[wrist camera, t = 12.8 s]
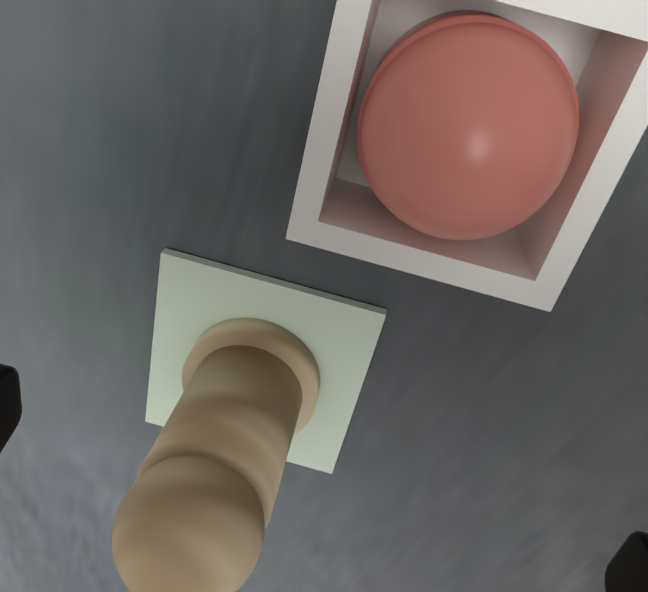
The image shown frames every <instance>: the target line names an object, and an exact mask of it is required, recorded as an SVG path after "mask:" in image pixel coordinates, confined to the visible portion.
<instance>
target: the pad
mask: <svg viewBox="0 0 648 592" xmlns="http://www.w3.org/2000/svg"><path fill="white" fill-rule="evenodd" d="M386 313H387V309H384V308H380V307H377V306H373V305H370V304H366V303H362V302H359V301H355V300H352V299H348V298H344V297H341V296H337V295H333V294H330V293H326V292H323V291H319V290H315V289H312V288H308V287H305V286H301V285H297V284H294V283H290V282H287V281H283V280H279V279H276V278H272V277H269V276H265V275H261V274H258V273H254V272H251V271H247V270H243V269H240V268H236V267H233V266H229V265H225V264H222V263H218V262H215V261H211V260H207V259H204V258H200V257H196V256H193V255H189V254H186V253H182V252H178V251H175V250H171V249H168V248H165V249H164V250H163V251H162V252H161V257H160V267H159V278H158V289H157V300H156V311H155V322H154V332H153V343H152V354H151V365H150V376H149V387H148V397H147V408H146V419H145V422H149V423H152V424H156V425H160V426H163V427H164V425H165V424H166V422H167V420H168V418H169V417H170V415H171V413H172V411H173V410H174V408H175V406H176V404H177V403H178V401H179V399H180V397H181V395H182V394H183V392H184V391H183V388H182V380H181V379H182V369H183V365H184V363H185V360H186V358H187V357H188V355H189V353H190V352H191V350H192V348H193V347H194V345H195V344H196V342H197V340H198V339H199V337H200V336H201V335H202V334H203V333H204V332H205V331H206V330H208V329H209V328H210V327H212V326H214V325H215V324H217V323H220V322H222V321H225V320H229V319H235V318H255V319H261V320H265V321H269V322H272V323H275V324H277V325H279V326H281V327H283V328H285V329H287V330H288V331H290V332H292V333H293V334H294V335H296V336H297V337H298V338H299V339H300V340H301V341H302V342H303V343H304V344H305V345H306V346H307V347H308V348H309V350H310V351H311V353H312V354H313V356H314V358H315V360H316V362H317V364H318V368H319V371H320V389H319V393H318V398H317V402H316V406H315V410H314V412H313V415H312V417H311V419H310V420H309V422H308V423H307V424H306V426H305V427H304V428H303V429H301V430H300V431H299V432H298V433H296V434H294V435H293V438H292V441H291V445H290V449H289V452H288V456H287V459H286V461H287V462H291V463H295V464H298V465H302V466H305V467H309V468H312V469H316V470H319V471H323V472H327V473H330V474H332V472H333V469H334V466H335V463H336V460H337V457H338V454H339V452H340V449H341V446H342V443H343V440H344V437H345V434H346V431H347V428H348V425H349V422H350V419H351V417H352V414H353V411H354V408H355V405H356V402H357V399H358V396H359V393H360V390H361V387H362V384H363V382H364V379H365V376H366V373H367V370H368V367H369V364H370V361H371V358H372V355H373V352H374V349H375V347H376V344H377V341H378V338H379V335H380V332H381V329H382V326H383V323H384V320H385V317H386Z"/></svg>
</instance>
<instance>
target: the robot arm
mask: <svg viewBox="0 0 648 592" xmlns="http://www.w3.org/2000/svg"><path fill="white" fill-rule="evenodd" d="M21 414H22V403H21V392H20V382H19V374H18V372H17V370H16V369H15V368H13V367H11V366H8V365H4V364H0V453H1V451H2V449H3V448H4V446H5V445H6V443H7V441H8V440H9V438H10V437H11V435H12V433H13V432H14V430H15V429H16V427H17V425H18V423H19V421H20V418H21ZM605 591H606V592H648V533H645V532H641V531H636V532H634V533H632V534H631V535H630V536H629V537H628V538H627V540H626V541H625V542H624V544H623V545H622V546H621V548H620V549H619V550H618V552H617V553H616V554H615V556H614V557H613V558H612V560H611V561H610V562H609V564H608V566H607V569H606V572H605Z"/></svg>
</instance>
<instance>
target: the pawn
mask: <svg viewBox="0 0 648 592" xmlns="http://www.w3.org/2000/svg"><path fill="white" fill-rule="evenodd" d="M181 380H182V388H183V391H184V392H183V394H182V395H181V397H180V399H179V401H178V403H177V404H176V406H175V408H174V410H173V411H172V413H171V415H170V417H169V418H168V420H167V422H166V424H165V425H164V427H163V429H162V431H161V432H160V434H159V436H158V438H157V439H156V441H155V443H154V445H153V446H152V448H151V450H150V452H149V453H148V455H147V457H146V459H145V460H144V462H143V464H142V466H141V467H140V469H139V471H138V474H137V477H136V481H135V482H134V483H133V484H132V485H131V487H130V488H129V490H128V491H127V493H126V494H125V496H124V497H123V499H122V501H121V503H120V506H119V508H118V510H117V513H116V517H115V520H114V525H113V532H112V551H113V557H114V561H115V565H116V568H117V570H118V573H119V575H120V577H121V579H122V580H123V582H124V584H125V585H126V587H127V588H128V589H129V591H130V592H236V591H237V590H238V589H239V588H240V587H241V586H242V585H243V584H244V583H245V581H246V580H247V579H248V577H249V576H250V574H251V573H252V571H253V569H254V567H255V566H256V564H257V561H258V558H259V556H260V553H261V550H262V545H263V540H264V530H265V529H266V527H267V526H268V523H269V521H270V517H271V514H272V510H273V507H274V503H275V499H276V496H277V492H278V488H279V485H280V481H281V478H282V474H283V470H284V467H285V463H286V459H287V456H288V452H289V449H290V445H291V441H292V438H293V435H294V434H296V433H298V432H299V431H300V430H301V429H303V428H304V427H305V426H306V424H307V423H308V422H309V420H310V419H311V417H312V415H313V412H314V410H315V406H316V402H317V398H318V393H319V389H320V371H319V368H318V364H317V362H316V360H315V358H314V356H313V354H312V353H311V351H310V350H309V348H308V347H307V346H306V345H305V344H304V343H303V342H302V341H301V340H300V339H299V338H298V337H297V336H296V335H294V334H293V333H292V332H290V331H288V330H287V329H285V328H283V327H281V326H279V325H277V324H275V323H272V322H269V321H265V320H261V319H255V318H235V319H229V320H225V321H222V322H220V323H217V324H215V325H214V326H212V327H210V328H209V329H208V330H206V331H205V332H204V333H203V334H202V335H201V336H200V337H199V339H198V340H197V342H196V344H195V345H194V347H193V348H192V350H191V352H190V353H189V355H188V357H187V358H186V360H185V363H184V365H183V369H182V379H181Z"/></svg>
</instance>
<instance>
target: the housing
mask: <svg viewBox="0 0 648 592" xmlns="http://www.w3.org/2000/svg"><path fill="white" fill-rule="evenodd" d="M459 10H478V11H483V12H488V13H492V14H495V15H498V16H501V17H503V18H505V19H507V20H509V21H512V22H514V23H516V24H518V25H520V26H522V27H524V28H526V29H528V30H530V31H531V32H533V33H535V34H536V35H537V36H539V37H540V38H541V39H543V40H544V41H545V42H547V43H548V45H549V46H550V47H551V48H552V49H553V50H554V51H555V52H556V53H557V54H558V56H559V57H560V58H561V60H562V61H563V63H564V64H565V66H566V68H567V70H568V72H569V74H570V76H571V78H572V80H573V83H574V87H575V90H576V93H577V99H578V105H579V129H578V137H577V141H576V145H575V149H574V153H573V156H572V159H571V162H570V165H569V167H568V170H567V172H566V174H565V176H564V178H563V179H562V181H561V183H560V185H559V187H558V188H557V189H556V191H555V192H554V194H553V195H552V196H551V198H550V199H549V200H548V201H547V202H546V203H545V204H544V205H543V206H542V207H541V208H540V209H539V210H538V211H537V212H536V213H535V214H533V215H532V216H531V217H530V218H528V219H527V220H525V221H524V222H522V223H521V224H519V225H517V226H515V227H514V228H512V229H510V230H508V231H505V232H503V233H500V234H498V235H494V236H491V237H487V238H483V239H476V240H462V241H457V240H446V239H441V238H437V237H433V236H430V235H427V234H424V233H422V232H420V231H417V230H415V229H413V228H411V227H410V226H408V225H407V224H405V223H404V222H402V221H401V220H399V219H398V218H397V217H396V216H395V215H394V214H392V213H391V212H390V211H389V210H388V209H387V208H386V207H385V206H384V205H383V204H382V203H381V201H380V200H379V199H378V198H377V197H376V195H375V194H374V192H373V191H372V189H371V188H370V186H369V184H368V182H367V180H366V178H365V176H364V173H363V170H362V167H361V164H360V160H359V155H358V149H357V122H358V117H359V112H360V107H361V104H362V101H363V98H364V95H365V93H366V91H367V88H368V86H369V84H370V82H371V80H372V78H373V76H374V74H375V71H376V69H377V67H378V65H379V63H380V62H381V60H382V58H383V57H384V55H385V54H386V52H387V51H388V50H389V49H390V47H391V46H392V45H393V44H394V42H396V41H397V40H398V39H399V38H400V37H401V36H402V35H403V34H404V33H405V32H407V31H408V30H409V29H411V28H412V27H413V26H415V25H417V24H419V23H420V22H422V21H424V20H426V19H428V18H431V17H433V16H436V15H438V14H442V13H446V12H450V11H459ZM647 125H648V0H337V3H336V7H335V12H334V16H333V21H332V26H331V30H330V35H329V40H328V44H327V49H326V54H325V58H324V63H323V67H322V72H321V77H320V81H319V86H318V91H317V95H316V100H315V104H314V109H313V114H312V118H311V123H310V128H309V132H308V137H307V142H306V146H305V151H304V155H303V160H302V165H301V169H300V174H299V179H298V183H297V188H296V192H295V197H294V202H293V206H292V211H291V216H290V220H289V225H288V230H287V234H286V239H288V240H292V241H295V242H299V243H302V244H306V245H310V246H313V247H317V248H320V249H324V250H328V251H331V252H335V253H339V254H342V255H346V256H349V257H353V258H357V259H360V260H364V261H368V262H371V263H375V264H378V265H382V266H386V267H389V268H393V269H396V270H400V271H404V272H407V273H411V274H415V275H418V276H422V277H425V278H429V279H433V280H436V281H440V282H443V283H447V284H451V285H454V286H458V287H462V288H465V289H469V290H472V291H476V292H480V293H483V294H487V295H491V296H494V297H498V298H501V299H505V300H509V301H512V302H516V303H519V304H523V305H527V306H530V307H534V308H538V309H541V310H545V311H548V312H551V310H552V308H553V306H554V304H555V302H556V300H557V299H558V297H559V295H560V293H561V291H562V289H563V287H564V285H565V283H566V281H567V279H568V277H569V275H570V273H571V272H572V270H573V268H574V266H575V264H576V262H577V260H578V258H579V256H580V254H581V252H582V250H583V248H584V247H585V245H586V243H587V241H588V239H589V237H590V235H591V233H592V231H593V229H594V227H595V225H596V223H597V221H598V220H599V218H600V216H601V214H602V212H603V210H604V208H605V206H606V204H607V202H608V200H609V198H610V196H611V195H612V193H613V191H614V189H615V187H616V185H617V183H618V181H619V179H620V177H621V175H622V173H623V171H624V169H625V168H626V166H627V164H628V162H629V160H630V158H631V156H632V154H633V152H634V150H635V148H636V146H637V144H638V143H639V141H640V139H641V137H642V135H643V133H644V131H645V129H646V127H647Z"/></svg>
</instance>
